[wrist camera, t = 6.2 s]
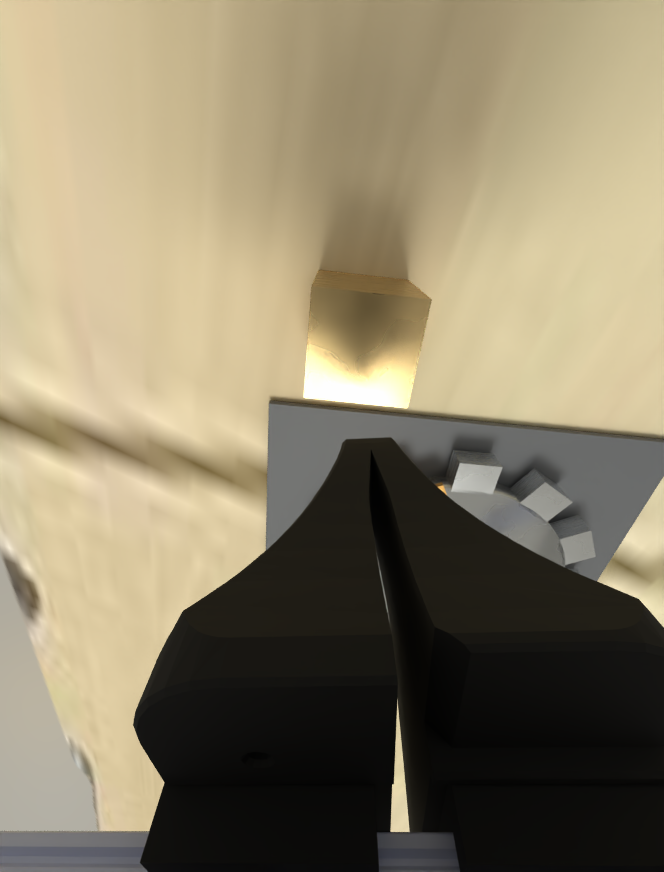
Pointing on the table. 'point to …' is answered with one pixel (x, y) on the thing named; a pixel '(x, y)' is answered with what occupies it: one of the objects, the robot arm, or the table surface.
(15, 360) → the table surface
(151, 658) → the table surface
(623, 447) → the plate
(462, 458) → the sprocket
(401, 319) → the brushed gold block
